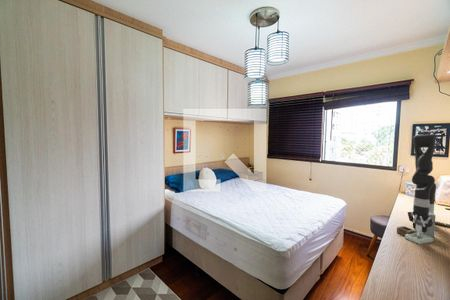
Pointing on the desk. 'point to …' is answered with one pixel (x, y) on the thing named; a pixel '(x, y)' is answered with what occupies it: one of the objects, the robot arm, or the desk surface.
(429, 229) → the skincare box
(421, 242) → the tray
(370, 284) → the desk surface
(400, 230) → the block
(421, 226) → the pin
